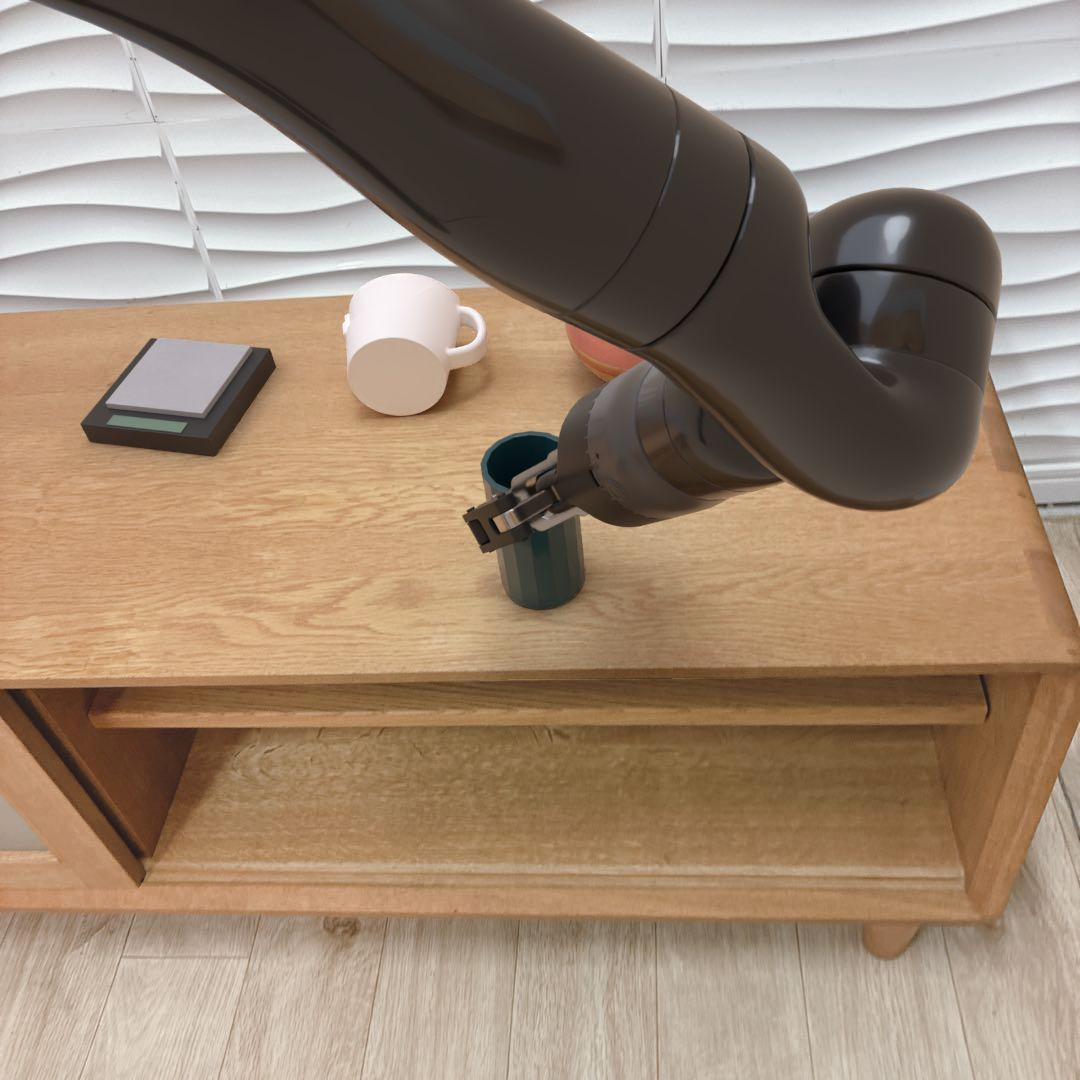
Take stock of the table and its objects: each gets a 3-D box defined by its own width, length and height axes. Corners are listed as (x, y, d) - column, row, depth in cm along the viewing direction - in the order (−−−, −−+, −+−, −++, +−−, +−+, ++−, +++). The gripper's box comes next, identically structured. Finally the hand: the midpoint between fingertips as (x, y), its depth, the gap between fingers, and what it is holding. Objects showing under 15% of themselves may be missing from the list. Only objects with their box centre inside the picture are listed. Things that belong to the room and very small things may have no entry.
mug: (349, 421, 89) (326, 342, 83) (359, 353, 96) (339, 276, 90) (493, 408, 88) (479, 328, 83) (493, 340, 95) (481, 262, 89)
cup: (574, 615, 73) (560, 499, 65) (492, 603, 74) (469, 488, 66) (593, 552, 76) (582, 435, 68) (515, 542, 78) (496, 427, 70)
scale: (215, 456, 88) (204, 432, 86) (89, 441, 91) (76, 418, 89) (276, 366, 96) (268, 342, 94) (158, 355, 98) (148, 332, 97)
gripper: (735, 310, 54) (606, 385, 69) (502, 438, 49) (418, 488, 64) (804, 442, 55) (661, 488, 70) (581, 581, 50) (479, 597, 65)
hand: (544, 488), depth 67 cm, fingers open, 8 cm apart
